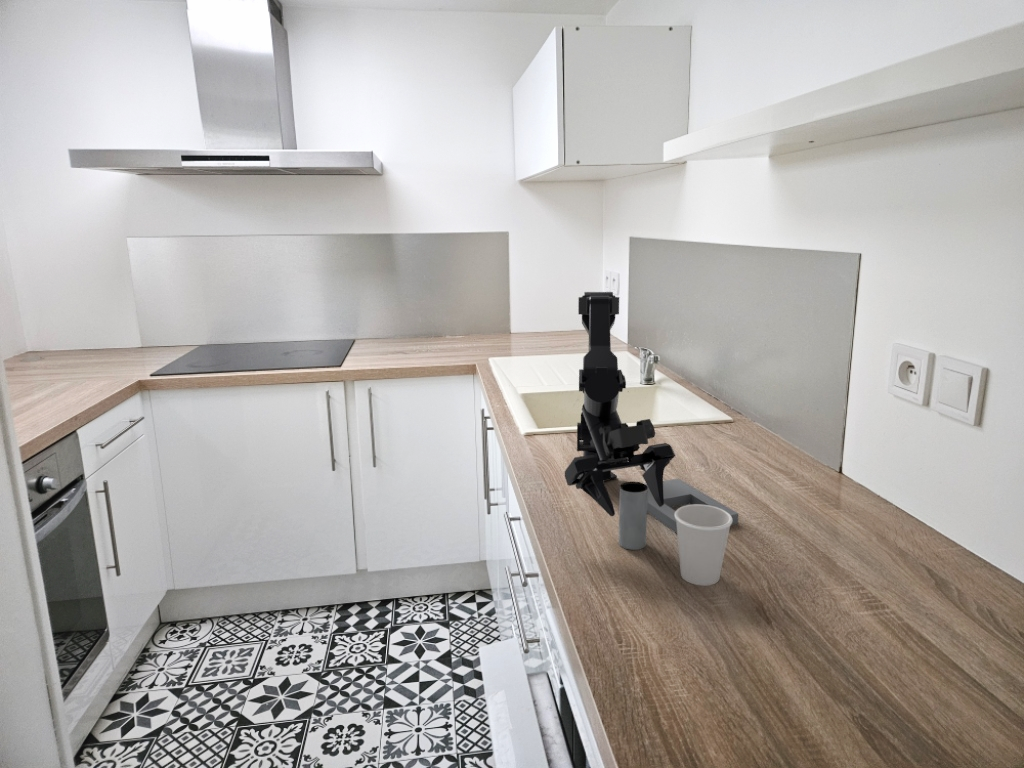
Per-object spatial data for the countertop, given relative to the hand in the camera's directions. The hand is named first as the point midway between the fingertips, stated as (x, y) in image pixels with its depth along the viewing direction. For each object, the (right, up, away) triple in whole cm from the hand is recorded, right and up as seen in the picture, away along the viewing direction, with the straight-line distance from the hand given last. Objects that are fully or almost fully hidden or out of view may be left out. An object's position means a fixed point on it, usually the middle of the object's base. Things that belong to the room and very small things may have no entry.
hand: (637, 510), depth 111 cm
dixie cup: (+8, -9, -7) cm, 14 cm away
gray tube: (0, -6, +3) cm, 7 cm away
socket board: (+11, -3, +15) cm, 19 cm away
